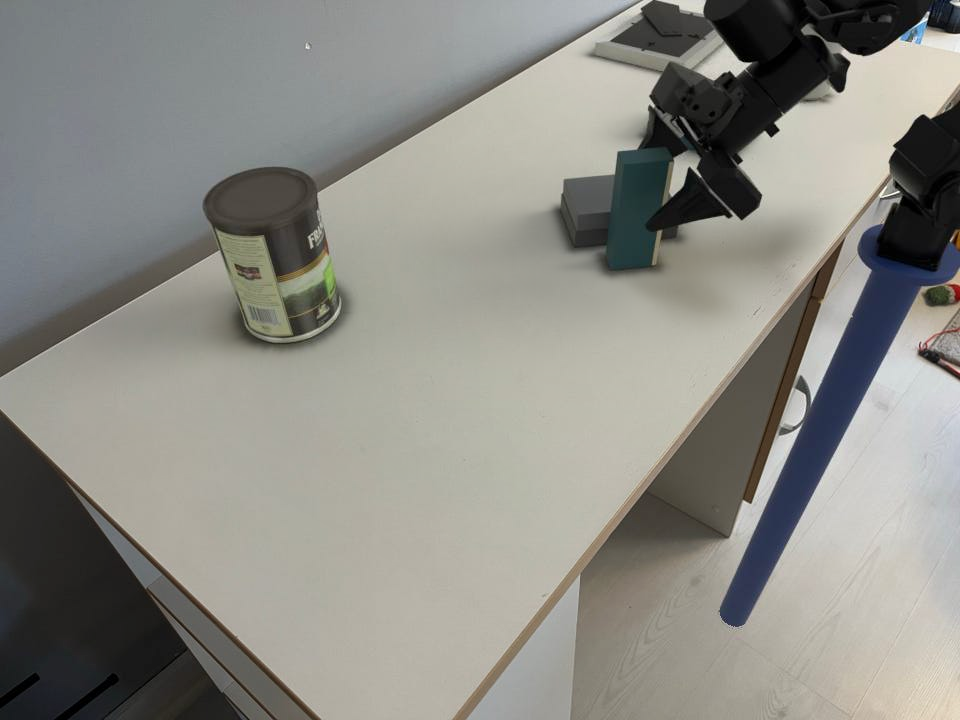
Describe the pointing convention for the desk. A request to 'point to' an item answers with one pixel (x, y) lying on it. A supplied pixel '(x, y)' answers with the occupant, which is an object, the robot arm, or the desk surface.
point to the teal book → (637, 206)
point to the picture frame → (661, 38)
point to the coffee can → (275, 252)
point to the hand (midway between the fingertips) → (634, 204)
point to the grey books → (592, 209)
